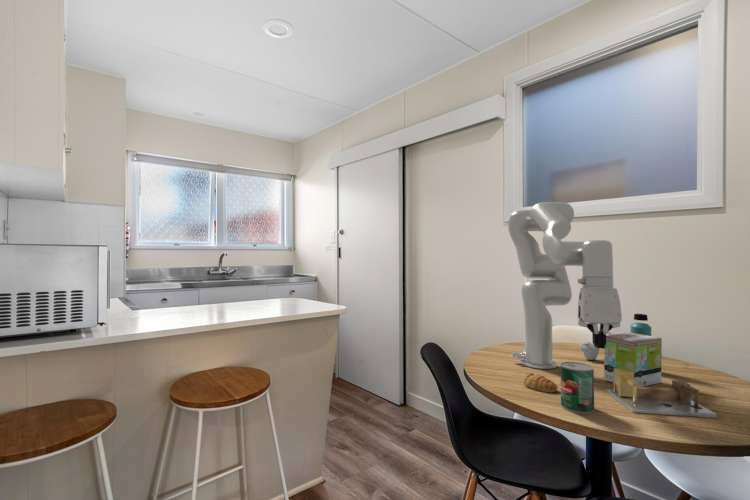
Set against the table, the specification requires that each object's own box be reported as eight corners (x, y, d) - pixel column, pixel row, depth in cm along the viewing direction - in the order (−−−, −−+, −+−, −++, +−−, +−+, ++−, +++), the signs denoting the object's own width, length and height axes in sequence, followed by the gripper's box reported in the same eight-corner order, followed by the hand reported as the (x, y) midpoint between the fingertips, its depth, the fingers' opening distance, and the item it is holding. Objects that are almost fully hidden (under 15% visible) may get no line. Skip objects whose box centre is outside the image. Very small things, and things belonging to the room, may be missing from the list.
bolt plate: (632, 412, 95) (632, 408, 95) (607, 393, 109) (607, 389, 109) (716, 418, 92) (716, 413, 92) (679, 397, 106) (679, 393, 106)
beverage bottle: (645, 367, 135) (644, 312, 136) (657, 372, 129) (656, 315, 129) (626, 366, 136) (625, 312, 137) (637, 372, 130) (636, 315, 130)
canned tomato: (600, 409, 97) (599, 367, 97) (584, 416, 92) (584, 372, 93) (570, 399, 103) (570, 360, 104) (554, 405, 99) (554, 364, 99)
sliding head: (628, 402, 98) (628, 376, 98) (613, 391, 106) (613, 368, 107) (643, 403, 98) (643, 377, 98) (627, 392, 106) (627, 368, 106)
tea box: (636, 390, 111) (636, 341, 112) (603, 380, 120) (602, 335, 121) (662, 382, 118) (662, 336, 119) (629, 374, 127) (628, 331, 128)
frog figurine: (578, 357, 150) (578, 339, 150) (598, 358, 147) (597, 341, 147) (581, 360, 144) (580, 342, 144) (601, 362, 141) (601, 344, 142)
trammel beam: (629, 403, 98) (629, 386, 98) (614, 392, 106) (614, 377, 107) (702, 408, 95) (702, 390, 96) (681, 396, 104) (681, 380, 104)
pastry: (562, 391, 111) (562, 378, 111) (549, 396, 107) (549, 382, 107) (534, 382, 118) (533, 370, 119) (521, 386, 115) (521, 374, 115)
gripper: (574, 283, 104) (576, 349, 103) (633, 284, 101) (635, 351, 100) (565, 282, 111) (566, 344, 110) (619, 283, 109) (621, 345, 108)
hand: (599, 347), depth 105 cm, fingers closed
